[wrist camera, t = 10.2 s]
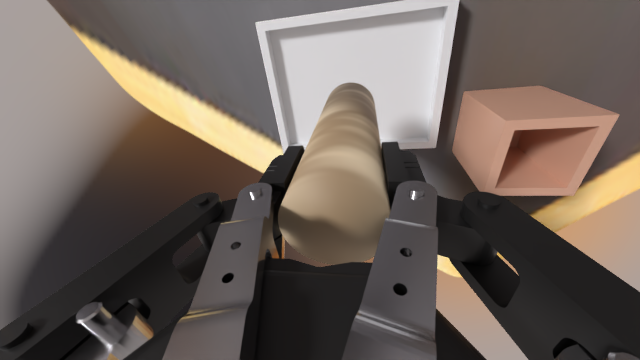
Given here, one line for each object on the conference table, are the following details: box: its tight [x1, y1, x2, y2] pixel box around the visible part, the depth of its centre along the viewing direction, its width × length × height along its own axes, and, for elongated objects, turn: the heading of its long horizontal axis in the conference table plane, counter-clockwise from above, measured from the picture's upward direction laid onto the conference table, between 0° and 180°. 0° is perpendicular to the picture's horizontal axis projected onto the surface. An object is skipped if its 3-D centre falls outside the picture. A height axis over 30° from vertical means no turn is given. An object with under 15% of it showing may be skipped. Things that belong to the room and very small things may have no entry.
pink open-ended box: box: [452, 86, 619, 196], centre depth 23 cm, size 7×7×9 cm
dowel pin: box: [278, 83, 391, 265], centre depth 14 cm, size 4×4×14 cm
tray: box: [255, 0, 459, 153], centre depth 26 cm, size 18×14×2 cm
